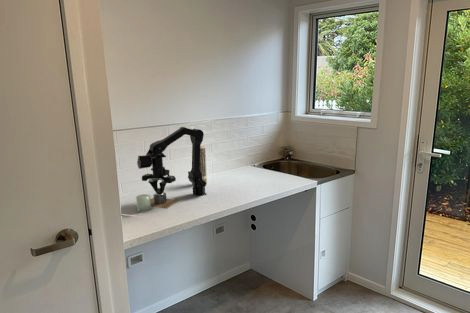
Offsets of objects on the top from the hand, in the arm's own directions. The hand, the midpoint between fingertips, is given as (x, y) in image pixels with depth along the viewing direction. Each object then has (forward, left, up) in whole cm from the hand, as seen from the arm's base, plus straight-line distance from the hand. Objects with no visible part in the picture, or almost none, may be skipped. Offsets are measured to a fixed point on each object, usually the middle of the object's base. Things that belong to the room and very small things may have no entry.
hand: (159, 193), depth 199 cm
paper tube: (-4, -42, -6) cm, 43 cm away
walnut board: (0, 0, -6) cm, 6 cm away
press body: (0, 0, -5) cm, 5 cm away
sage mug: (+2, +12, -6) cm, 14 cm away
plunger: (0, 0, -4) cm, 4 cm away
